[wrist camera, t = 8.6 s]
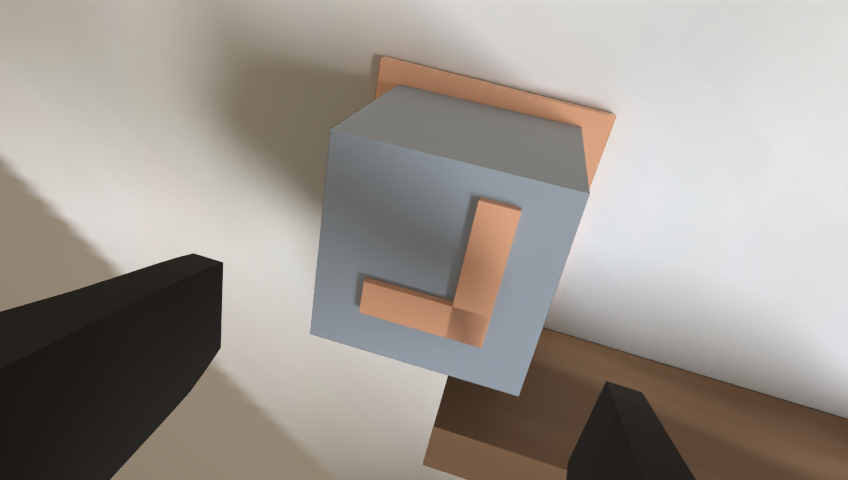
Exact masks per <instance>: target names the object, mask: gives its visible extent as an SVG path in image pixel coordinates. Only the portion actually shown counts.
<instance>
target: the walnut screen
mask: <svg viewBox="0 0 848 480" xmlns="http://www.w3.org/2000/svg"><path fill="white" fill-rule="evenodd" d="M606 381H608V382H611V383H614V384H618V385H621V386H624V387H627V388H631V389H634V390H637V391H640V392H642V393H643V395H644V396H645V398H646V399H647V401H648V402H649V404H650V406H651V407H652V409H653V410H654V412H655V414H656V415H657V417H658V419H659V420H660V422H661V424H662V425H663V427H664V429H665V430H666V432H667V434H668V435H669V437H670V438H671V440H672V442H673V443H674V445H675V447H676V448H677V450H678V451H679V453H680V455H681V456H682V458H683V460H684V461H685V463H686V464H687V466H688V468H689V469H690V471H691V472H692V474H693V476H694V477H695V479H696V480H848V419H844V418H841V417H838V416H834V415H831V414H828V413H824V412H821V411H818V410H814V409H811V408H808V407H804V406H801V405H798V404H794V403H791V402H788V401H784V400H781V399H778V398H775V397H771V396H768V395H765V394H761V393H758V392H755V391H751V390H748V389H745V388H741V387H738V386H735V385H731V384H728V383H725V382H721V381H718V380H715V379H711V378H708V377H705V376H701V375H698V374H695V373H691V372H688V371H685V370H681V369H678V368H675V367H671V366H668V365H665V364H661V363H658V362H655V361H651V360H648V359H645V358H641V357H638V356H635V355H631V354H628V353H625V352H621V351H618V350H615V349H611V348H608V347H605V346H601V345H598V344H595V343H591V342H588V341H585V340H582V339H578V338H575V337H572V336H568V335H565V334H562V333H558V332H555V331H552V330H548V329H545V328H542V331H541V334H540V337H539V340H538V343H537V346H536V348H535V351H534V354H533V357H532V360H531V363H530V366H529V368H528V371H527V374H526V377H525V380H524V383H523V386H522V388H521V391H520V394H519V396H515V395H512V394H509V393H505V392H502V391H499V390H495V389H492V388H489V387H485V386H482V385H479V384H475V383H472V382H469V381H465V380H462V379H459V378H455V377H452V376H449V375H448V378H447V382H446V385H445V389H444V392H443V396H442V399H441V403H440V406H439V409H438V413H437V416H436V420H435V423H434V427H433V430H432V434H431V437H430V441H429V444H428V448H427V451H426V455H425V458H424V462H423V465H425V466H428V467H431V468H434V469H437V470H440V471H443V472H446V473H449V474H452V475H455V476H458V477H461V478H464V479H467V480H566V477H567V466H568V461H569V458H570V456H571V454H572V452H573V450H574V448H575V446H576V444H577V442H578V439H579V437H580V435H581V433H582V431H583V429H584V427H585V425H586V423H587V420H588V418H589V416H590V414H591V412H592V410H593V408H594V406H595V404H596V401H597V399H598V397H599V395H600V393H601V391H602V389H603V387H604V385H605V382H606Z"/></svg>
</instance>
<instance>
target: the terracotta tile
mask: <svg viewBox="0 0 848 480" xmlns="http://www.w3.org/2000/svg"><path fill="white" fill-rule="evenodd" d="M399 84H401V85H406V86H410V87H414V88H418V89H423V90H427V91H431V92H435V93H440V94H444V95H448V96H452V97H457V98H461V99H465V100H469V101H474V102H478V103H482V104H486V105H491V106H495V107H499V108H503V109H508V110H512V111H516V112H520V113H525V114H529V115H533V116H537V117H542V118H546V119H550V120H554V121H559V122H563V123H567V124H571V125H576V126H580V127H582V135H583V143H584V152H585V160H586V168H587V176H588V184H589V188H590V186H591V183H592V180H593V178H594V175H595V172H596V170H597V167H598V164H599V162H600V159H601V156H602V154H603V151H604V148H605V146H606V143H607V140H608V137H609V135H610V132H611V129H612V127H613V124H614V121H615V119H616V116H615V114H613V113H609V112H605V111H601V110H597V109H593V108H589V107H585V106H581V105H577V104H573V103H569V102H565V101H561V100H557V99H553V98H549V97H545V96H541V95H537V94H533V93H529V92H526V91H522V90H518V89H514V88H510V87H506V86H502V85H498V84H494V83H490V82H486V81H482V80H478V79H474V78H470V77H466V76H462V75H458V74H454V73H450V72H446V71H442V70H438V69H434V68H430V67H426V66H422V65H419V64H415V63H411V62H407V61H403V60H399V59H395V58H391V57H387V56H384V57H382V58H381V62H380V68H379V75H378V81H377V87H376V94H375V100H376V99H377V98H379V97H380V96H382V95H383V94H385V93H386V92H388V91H389V90H391V89H393V88H394V87H396V86H397V85H399Z"/></svg>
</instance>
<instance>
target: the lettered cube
mask: <svg viewBox="0 0 848 480" xmlns="http://www.w3.org/2000/svg"><path fill="white" fill-rule="evenodd" d="M589 194H590V192H589V184H588V176H587V168H586V160H585V152H584V143H583V135H582V127H580V126H576V125H571V124H567V123H563V122H559V121H554V120H550V119H546V118H542V117H537V116H533V115H529V114H525V113H520V112H516V111H512V110H508V109H503V108H499V107H495V106H491V105H486V104H482V103H478V102H474V101H469V100H465V99H461V98H457V97H452V96H448V95H444V94H440V93H435V92H431V91H427V90H423V89H418V88H414V87H410V86H406V85H401V84H399V85H397V86H396V87H394V88H393V89H391V90H389V91H388V92H386V93H385V94H383V95H382V96H380V97H379V98H377V99H376V100H374V101H373V102H371V103H370V104H368V105H367V106H365V107H364V108H362V109H360V110H359V111H357V112H356V113H354V114H353V115H351V116H350V117H348V118H347V119H345V120H344V121H342V122H341V123H339V124H338V125H336V126H334V127H333V128H331V130H330V140H329V150H328V160H327V170H326V180H325V190H324V200H323V210H322V220H321V230H320V240H319V250H318V260H317V270H316V280H315V290H314V300H313V310H312V320H311V330H310V334H312V335H315V336H318V337H322V338H325V339H328V340H332V341H335V342H338V343H342V344H345V345H348V346H352V347H355V348H358V349H362V350H365V351H368V352H372V353H375V354H379V355H382V356H385V357H389V358H392V359H395V360H399V361H402V362H405V363H409V364H412V365H415V366H419V367H422V368H425V369H429V370H432V371H435V372H439V373H442V374H445V375H449V376H452V377H455V378H459V379H462V380H465V381H469V382H472V383H475V384H479V385H482V386H485V387H489V388H492V389H495V390H499V391H502V392H505V393H509V394H512V395H515V396H519V394H520V391H521V388H522V386H523V383H524V380H525V377H526V374H527V371H528V368H529V366H530V363H531V360H532V357H533V354H534V351H535V348H536V346H537V343H538V340H539V337H540V334H541V331H542V328H543V326H544V323H545V320H546V317H547V314H548V311H549V308H550V306H551V303H552V300H553V297H554V294H555V291H556V288H557V286H558V283H559V280H560V277H561V274H562V271H563V269H564V266H565V263H566V260H567V257H568V254H569V251H570V249H571V246H572V243H573V240H574V237H575V234H576V231H577V229H578V226H579V223H580V220H581V217H582V214H583V211H584V209H585V206H586V203H587V200H588V197H589Z"/></svg>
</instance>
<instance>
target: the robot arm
mask: <svg viewBox="0 0 848 480" xmlns="http://www.w3.org/2000/svg"><path fill="white" fill-rule="evenodd" d="M222 281H223V262H220V261H216V260H213V259H210V258H207V257H203V256H200V255H197V254H190V255H186V256H181V257H178V258H174V259H171V260H168V261H164V262H161V263H158V264H155V265H152V266H149V267H146V268H143V269H139V270H136V271H133V272H130V273H127V274H124V275H121V276H118V277H115V278H112V279H109V280H106V281H102V282H99V283H96V284H93V285H90V286H87V287H84V288H81V289H78V290H75V291H71V292H68V293H64V294H61V295H57V296H54V297H50V298H47V299H43V300H40V301H36V302H33V303H30V304H26V305H23V306H19V307H16V308H12V309H9V310H5V311H2V312H0V480H110V479H111V478H112V477H113V476H114V474H115V473H116V472H117V471H118V470H119V469H120V468H121V467H122V466H123V465H124V464H125V463H126V461H127V460H128V459H129V458H130V457H131V456H132V455H133V454H134V453H135V452H136V451H137V450H138V448H139V447H140V446H141V445H142V444H143V443H144V442H145V441H146V440H147V439H148V437H149V436H150V435H151V434H152V433H153V432H154V431H155V430H156V429H157V428H158V426H160V424H161V423H162V422H163V421H164V420H165V419H166V418H167V417H168V416H169V415H170V413H171V412H172V411H173V410H174V409H175V408H176V407H177V405H179V403H180V402H181V401H182V400H183V399H184V398H185V397H186V396H187V394H188V393H189V392H190V391H191V389H192V388H193V387H194V385H195V384H196V382H197V381H198V380H199V378H200V377H201V376H202V374H203V373H204V372H205V370H206V368H207V367H208V366H209V364H210V363H211V361H212V360H213V358H214V357H215V355H216V354H217V352H218V351H219V349H220V348H221V315H222ZM566 480H696V479H695V477H694V476H693V474H692V472H691V471H690V469H689V468H688V466H687V464H686V463H685V461H684V460H683V458H682V456H681V455H680V453H679V451H678V450H677V448H676V447H675V445H674V443H673V442H672V440H671V438H670V437H669V435H668V434H667V432H666V430H665V429H664V427H663V425H662V424H661V422H660V420H659V419H658V417H657V415H656V414H655V412H654V410H653V409H652V407H651V406H650V404H649V402H648V401H647V399H646V398H645V396H644V395H643V393H642V392H640V391H637V390H634V389H631V388H627V387H624V386H621V385H618V384H614V383H611V382H608V381H606V382H605V385H604V387H603V389H602V391H601V393H600V395H599V397H598V399H597V401H596V404H595V406H594V408H593V410H592V412H591V414H590V416H589V418H588V420H587V423H586V425H585V427H584V429H583V431H582V433H581V435H580V437H579V439H578V442H577V444H576V446H575V448H574V450H573V452H572V454H571V456H570V458H569V461H568V466H567V477H566Z"/></svg>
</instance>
